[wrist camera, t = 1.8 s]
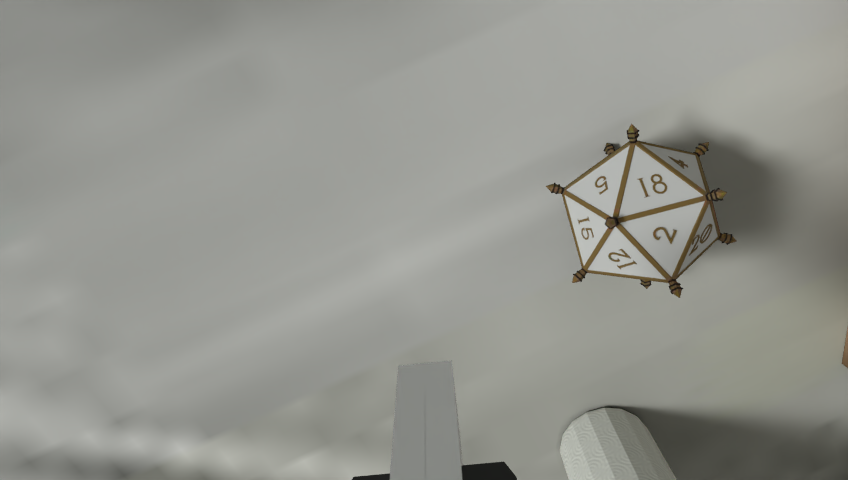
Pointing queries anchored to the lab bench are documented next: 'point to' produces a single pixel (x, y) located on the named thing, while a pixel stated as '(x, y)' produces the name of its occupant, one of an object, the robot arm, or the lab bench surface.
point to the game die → (642, 213)
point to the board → (845, 352)
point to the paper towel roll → (612, 448)
